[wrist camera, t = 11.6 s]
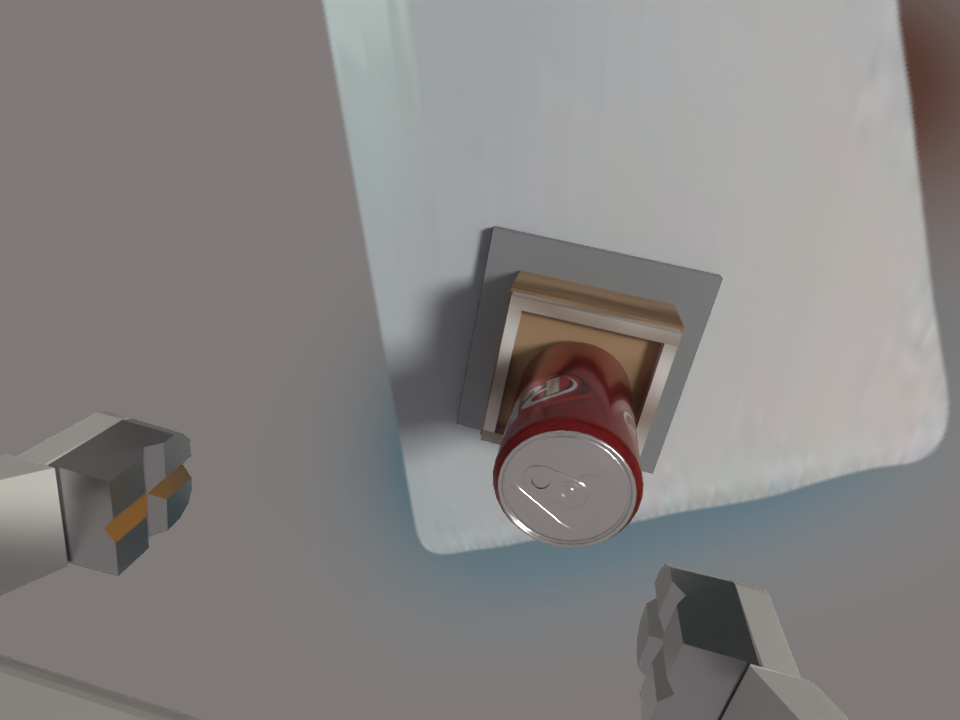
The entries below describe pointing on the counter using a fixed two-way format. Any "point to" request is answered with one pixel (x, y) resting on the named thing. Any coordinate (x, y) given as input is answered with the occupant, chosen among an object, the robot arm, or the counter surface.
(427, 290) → the counter surface
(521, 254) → the plate
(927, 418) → the counter surface
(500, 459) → the soda can
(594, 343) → the wooden tray
